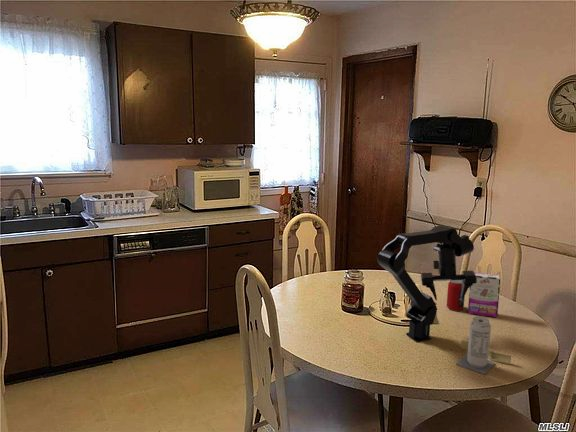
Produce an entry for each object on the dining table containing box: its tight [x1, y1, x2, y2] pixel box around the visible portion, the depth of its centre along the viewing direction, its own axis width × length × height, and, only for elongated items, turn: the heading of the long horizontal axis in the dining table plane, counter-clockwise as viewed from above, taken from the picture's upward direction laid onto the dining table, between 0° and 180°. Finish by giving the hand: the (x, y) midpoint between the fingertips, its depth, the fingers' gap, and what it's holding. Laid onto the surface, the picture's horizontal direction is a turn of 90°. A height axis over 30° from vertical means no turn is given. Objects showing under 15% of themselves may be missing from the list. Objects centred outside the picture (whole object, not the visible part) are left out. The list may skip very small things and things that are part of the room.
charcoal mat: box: [455, 353, 496, 376], centre depth 152 cm, size 9×9×1 cm
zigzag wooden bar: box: [460, 339, 512, 366], centre depth 158 cm, size 16×4×3 cm, turn 48°
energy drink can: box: [467, 316, 492, 368], centre depth 150 cm, size 6×6×15 cm
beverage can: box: [446, 280, 466, 312], centre depth 196 cm, size 7×7×12 cm
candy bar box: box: [467, 272, 502, 318], centre depth 191 cm, size 11×5×16 cm, turn 68°
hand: (449, 299), depth 175 cm, fingers open, 9 cm apart
